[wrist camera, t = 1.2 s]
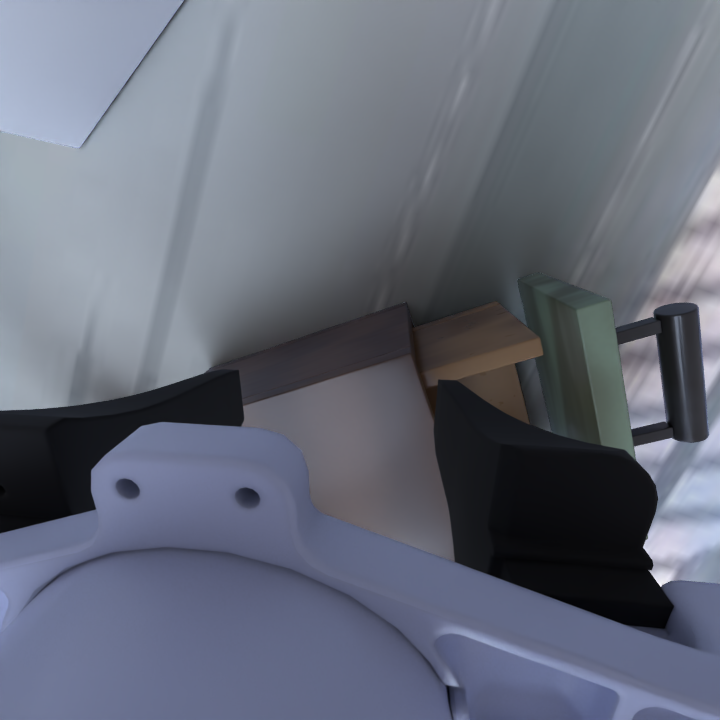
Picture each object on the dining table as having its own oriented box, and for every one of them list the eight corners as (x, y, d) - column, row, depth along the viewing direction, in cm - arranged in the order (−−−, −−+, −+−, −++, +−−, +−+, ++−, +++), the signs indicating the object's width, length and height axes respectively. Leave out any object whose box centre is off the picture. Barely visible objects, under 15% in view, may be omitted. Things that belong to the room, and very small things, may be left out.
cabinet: (406, 301, 22) (411, 352, 14) (462, 472, 26) (493, 595, 17) (210, 368, 25) (113, 444, 16) (286, 513, 29) (239, 636, 20)
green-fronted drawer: (631, 241, 19) (760, 253, 12) (655, 428, 23) (767, 518, 16) (325, 342, 23) (293, 395, 16) (386, 491, 26) (382, 587, 19)
